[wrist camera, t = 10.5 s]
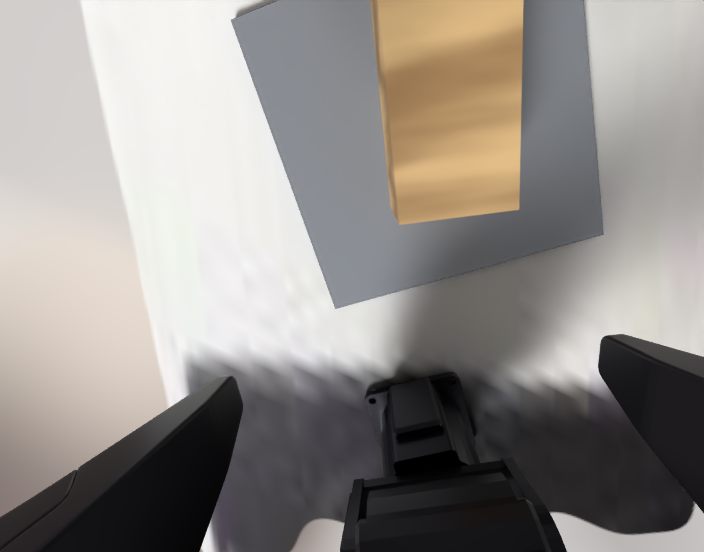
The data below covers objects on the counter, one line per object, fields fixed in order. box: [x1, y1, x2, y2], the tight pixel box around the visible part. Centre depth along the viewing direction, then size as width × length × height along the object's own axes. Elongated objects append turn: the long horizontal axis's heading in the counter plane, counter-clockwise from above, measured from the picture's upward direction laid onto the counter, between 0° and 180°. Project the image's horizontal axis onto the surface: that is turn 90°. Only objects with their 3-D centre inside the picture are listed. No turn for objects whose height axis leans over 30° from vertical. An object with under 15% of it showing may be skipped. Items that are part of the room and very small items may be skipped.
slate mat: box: [231, 0, 603, 309], centre depth 19 cm, size 16×16×1 cm
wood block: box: [370, 0, 524, 225], centre depth 15 cm, size 5×5×13 cm
